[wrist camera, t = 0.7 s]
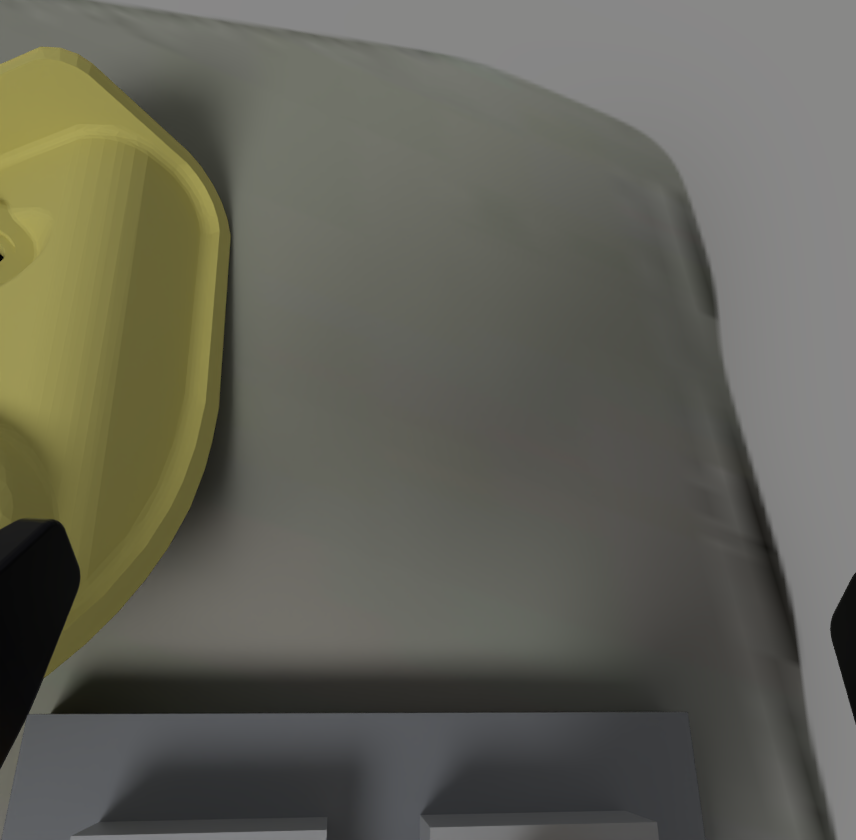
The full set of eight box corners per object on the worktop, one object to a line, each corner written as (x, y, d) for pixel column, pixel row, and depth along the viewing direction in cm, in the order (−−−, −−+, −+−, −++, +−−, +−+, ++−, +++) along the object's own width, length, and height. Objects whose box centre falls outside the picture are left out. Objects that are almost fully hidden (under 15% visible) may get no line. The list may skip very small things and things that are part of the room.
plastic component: (-150, 130, 23) (93, 22, 20) (31, 262, 29) (233, 193, 27) (-444, 805, 14) (-78, 767, 11) (-92, 784, 20) (194, 757, 18)
